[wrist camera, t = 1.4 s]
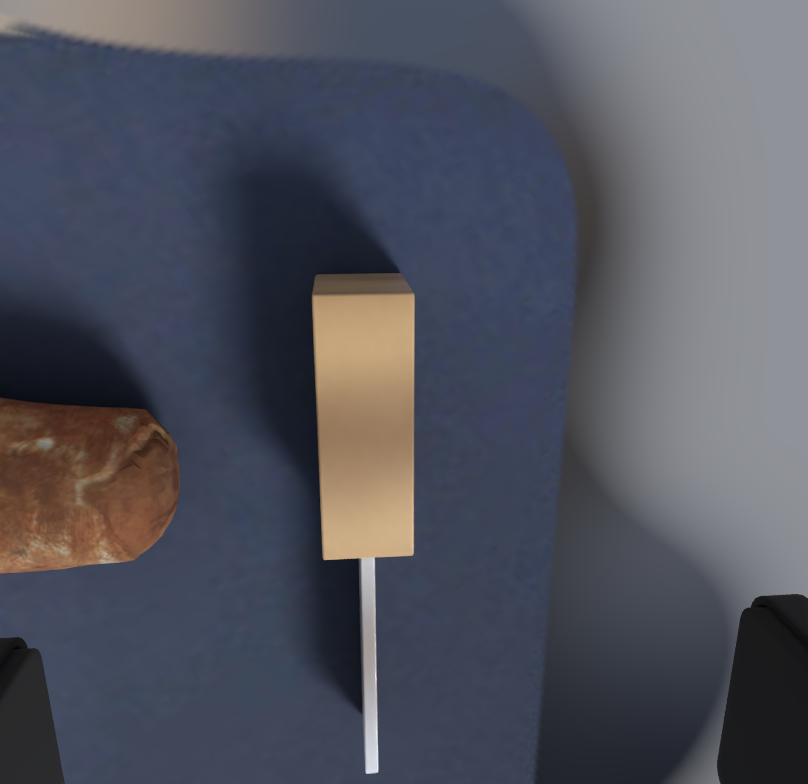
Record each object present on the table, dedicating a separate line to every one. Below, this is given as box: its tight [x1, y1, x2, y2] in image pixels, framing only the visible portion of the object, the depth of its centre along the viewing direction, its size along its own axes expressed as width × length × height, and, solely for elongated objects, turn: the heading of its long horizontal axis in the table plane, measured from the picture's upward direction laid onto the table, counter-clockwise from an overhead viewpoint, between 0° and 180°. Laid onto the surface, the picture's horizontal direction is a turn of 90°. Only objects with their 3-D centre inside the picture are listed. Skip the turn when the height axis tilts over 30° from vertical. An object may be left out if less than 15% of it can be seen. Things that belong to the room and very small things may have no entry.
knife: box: [312, 273, 415, 774], centre depth 20 cm, size 15×2×3 cm, turn 0°
